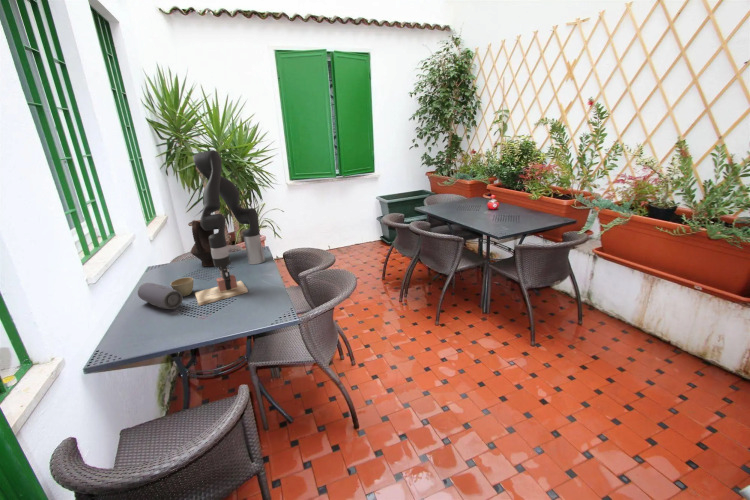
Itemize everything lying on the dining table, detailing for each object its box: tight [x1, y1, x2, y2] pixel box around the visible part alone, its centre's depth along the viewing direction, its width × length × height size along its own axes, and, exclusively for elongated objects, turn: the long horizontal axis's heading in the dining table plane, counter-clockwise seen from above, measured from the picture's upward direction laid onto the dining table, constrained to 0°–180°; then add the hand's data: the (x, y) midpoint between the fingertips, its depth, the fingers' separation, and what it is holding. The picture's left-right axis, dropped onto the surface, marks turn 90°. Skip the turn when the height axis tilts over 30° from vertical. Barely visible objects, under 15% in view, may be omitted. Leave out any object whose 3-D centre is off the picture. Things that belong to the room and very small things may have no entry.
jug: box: [187, 219, 215, 267], centre depth 204 cm, size 21×18×30 cm
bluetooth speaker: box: [137, 282, 184, 310], centre depth 157 cm, size 23×9×10 cm, turn 59°
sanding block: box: [216, 274, 238, 293], centre depth 167 cm, size 8×4×6 cm, turn 123°
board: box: [194, 280, 249, 306], centre depth 167 cm, size 22×14×2 cm, turn 123°
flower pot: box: [170, 276, 194, 297], centre depth 168 cm, size 10×10×7 cm
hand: (227, 287), depth 168 cm, fingers closed on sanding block, 4 cm apart
